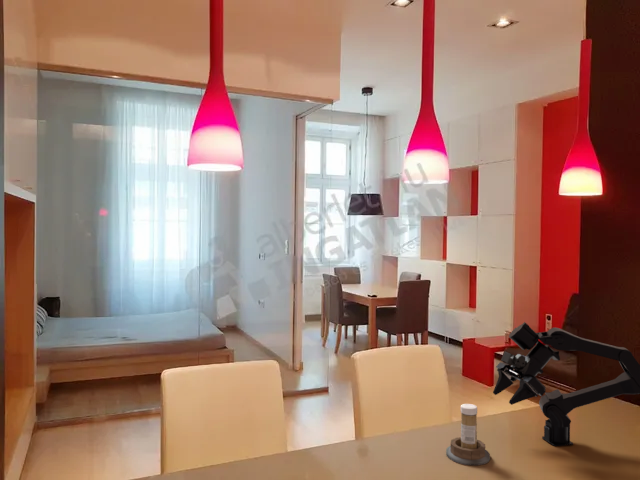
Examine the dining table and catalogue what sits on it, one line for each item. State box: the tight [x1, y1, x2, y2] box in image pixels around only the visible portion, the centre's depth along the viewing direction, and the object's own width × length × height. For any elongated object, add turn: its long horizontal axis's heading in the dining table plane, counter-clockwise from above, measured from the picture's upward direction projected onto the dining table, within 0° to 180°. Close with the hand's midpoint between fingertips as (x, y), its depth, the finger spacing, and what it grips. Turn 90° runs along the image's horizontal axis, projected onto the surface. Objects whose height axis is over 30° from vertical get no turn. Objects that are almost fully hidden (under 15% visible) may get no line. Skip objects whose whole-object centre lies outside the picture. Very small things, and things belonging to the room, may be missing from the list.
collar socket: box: [445, 436, 491, 466], centre depth 146 cm, size 12×12×4 cm
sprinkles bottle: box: [460, 403, 478, 449], centre depth 146 cm, size 5×5×14 cm
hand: (501, 398), depth 155 cm, fingers open, 9 cm apart
